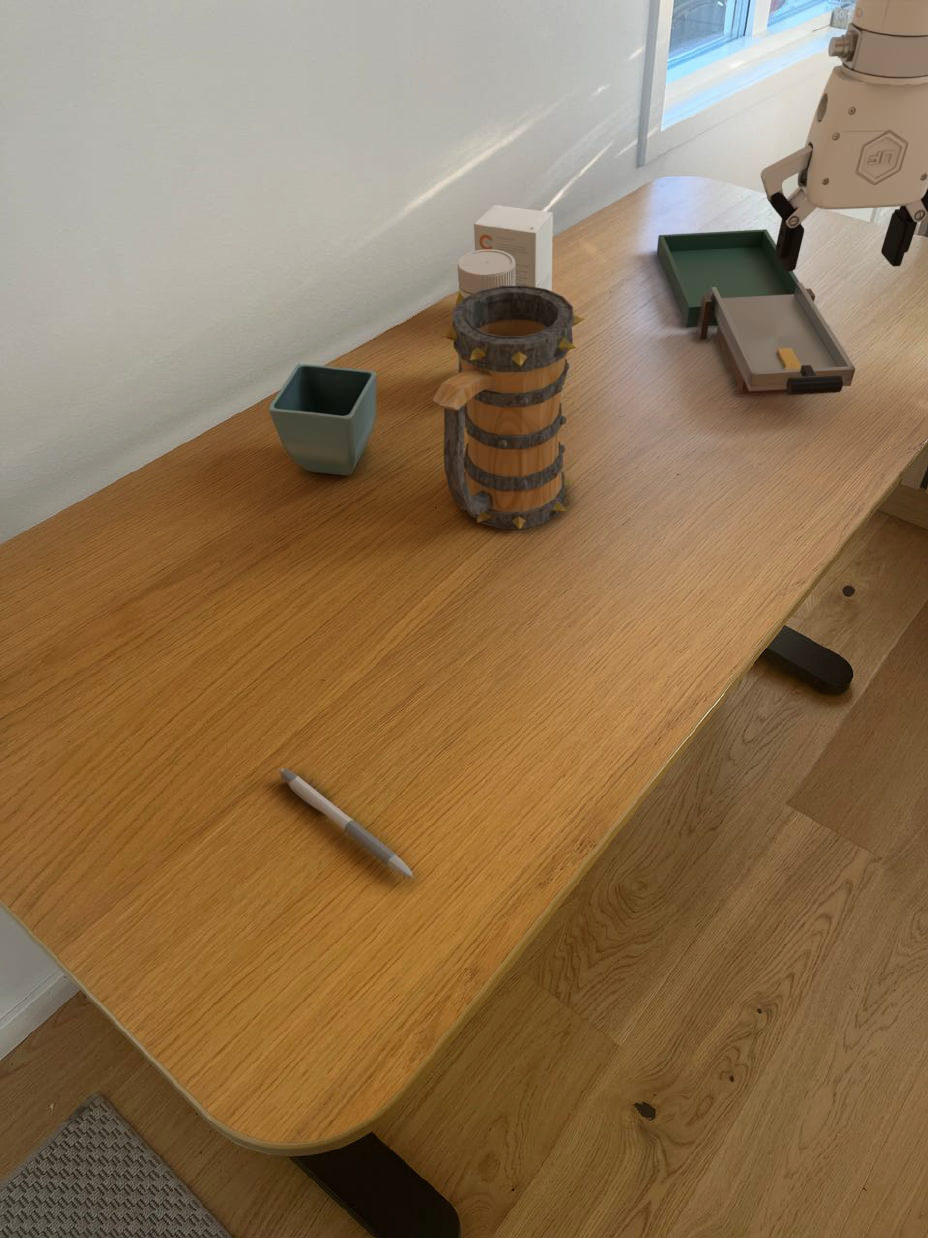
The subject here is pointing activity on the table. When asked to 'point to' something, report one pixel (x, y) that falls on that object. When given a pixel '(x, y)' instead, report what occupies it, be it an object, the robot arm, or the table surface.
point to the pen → (345, 823)
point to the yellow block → (788, 358)
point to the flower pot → (325, 416)
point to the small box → (520, 241)
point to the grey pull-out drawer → (782, 342)
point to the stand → (702, 334)
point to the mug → (507, 405)
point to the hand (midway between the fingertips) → (838, 262)
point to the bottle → (484, 272)
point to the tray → (721, 268)
